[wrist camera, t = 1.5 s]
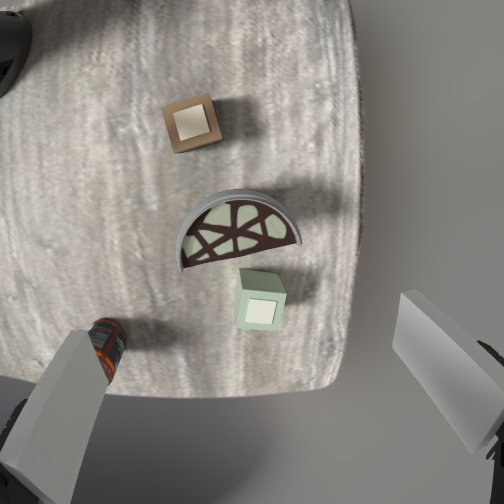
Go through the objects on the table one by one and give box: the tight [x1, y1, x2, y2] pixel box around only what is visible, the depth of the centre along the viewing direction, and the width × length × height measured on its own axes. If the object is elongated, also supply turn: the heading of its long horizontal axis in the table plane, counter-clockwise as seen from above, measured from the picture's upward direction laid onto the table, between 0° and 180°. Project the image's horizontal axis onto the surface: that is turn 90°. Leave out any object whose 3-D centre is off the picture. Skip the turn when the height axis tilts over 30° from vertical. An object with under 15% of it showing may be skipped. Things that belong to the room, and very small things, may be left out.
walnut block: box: [161, 93, 222, 153], centre depth 30 cm, size 5×5×5 cm
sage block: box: [233, 269, 287, 331], centre depth 37 cm, size 5×5×6 cm
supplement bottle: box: [88, 319, 126, 385], centre depth 34 cm, size 6×6×11 cm
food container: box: [176, 189, 302, 273], centre depth 31 cm, size 12×6×10 cm, turn 101°
